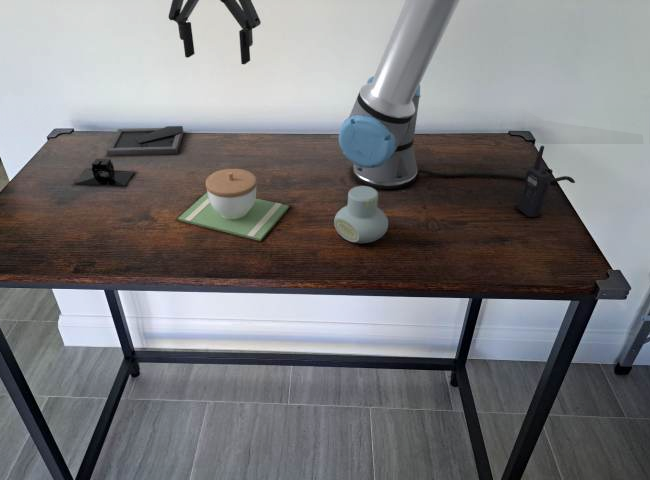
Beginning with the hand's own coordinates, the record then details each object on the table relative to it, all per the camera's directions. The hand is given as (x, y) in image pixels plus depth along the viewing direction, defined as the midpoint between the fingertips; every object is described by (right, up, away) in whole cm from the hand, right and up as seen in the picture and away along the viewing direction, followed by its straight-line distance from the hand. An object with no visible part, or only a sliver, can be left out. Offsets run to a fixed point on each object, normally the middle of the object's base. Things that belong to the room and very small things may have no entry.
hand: (217, 59), depth 120 cm
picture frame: (-23, -10, +31) cm, 40 cm away
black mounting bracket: (-29, -23, +16) cm, 41 cm away
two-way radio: (+68, -33, +1) cm, 75 cm away
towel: (+3, -33, +3) cm, 33 cm away
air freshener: (+30, -38, -4) cm, 49 cm away
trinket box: (+3, -33, +2) cm, 33 cm away
